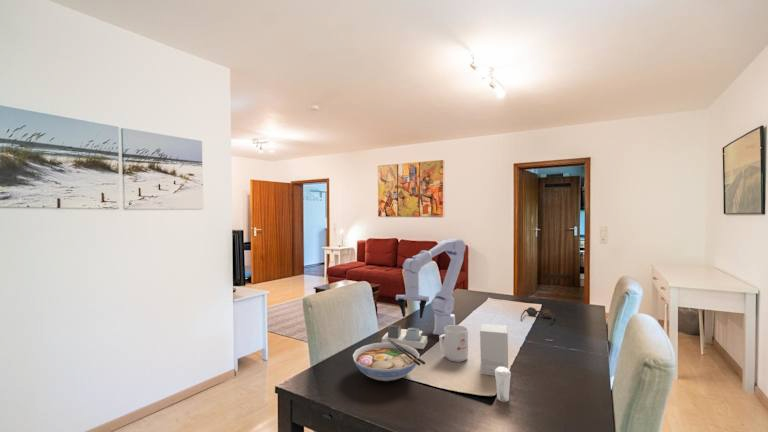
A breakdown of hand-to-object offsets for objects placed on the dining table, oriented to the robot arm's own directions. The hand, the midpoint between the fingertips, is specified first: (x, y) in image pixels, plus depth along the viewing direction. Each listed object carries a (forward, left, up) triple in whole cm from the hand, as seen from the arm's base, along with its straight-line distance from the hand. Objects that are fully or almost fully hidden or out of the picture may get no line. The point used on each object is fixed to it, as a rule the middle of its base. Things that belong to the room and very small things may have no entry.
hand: (412, 316), depth 151 cm
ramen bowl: (+1, +37, -10) cm, 38 cm away
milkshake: (-36, +41, -10) cm, 55 cm away
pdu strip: (+2, +6, -10) cm, 12 cm away
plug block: (-1, +5, -10) cm, 11 cm away
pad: (+3, -5, -10) cm, 12 cm away
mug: (-19, +16, -10) cm, 27 cm away
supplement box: (-34, +22, -10) cm, 42 cm away
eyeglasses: (-55, -45, -11) cm, 72 cm away
